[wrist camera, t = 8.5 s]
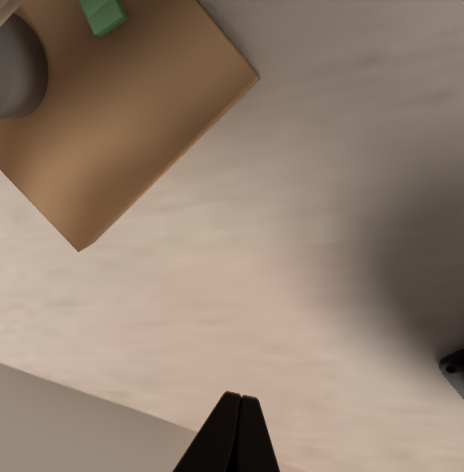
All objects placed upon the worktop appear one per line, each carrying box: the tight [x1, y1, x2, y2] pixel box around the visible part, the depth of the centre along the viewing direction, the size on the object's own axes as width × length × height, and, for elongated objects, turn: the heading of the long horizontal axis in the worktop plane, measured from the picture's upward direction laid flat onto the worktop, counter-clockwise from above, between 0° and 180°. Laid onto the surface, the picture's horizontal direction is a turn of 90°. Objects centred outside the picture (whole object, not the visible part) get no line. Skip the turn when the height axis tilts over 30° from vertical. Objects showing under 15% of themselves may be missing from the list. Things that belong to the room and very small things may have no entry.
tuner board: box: [0, 0, 260, 252], centre depth 18 cm, size 12×14×2 cm
